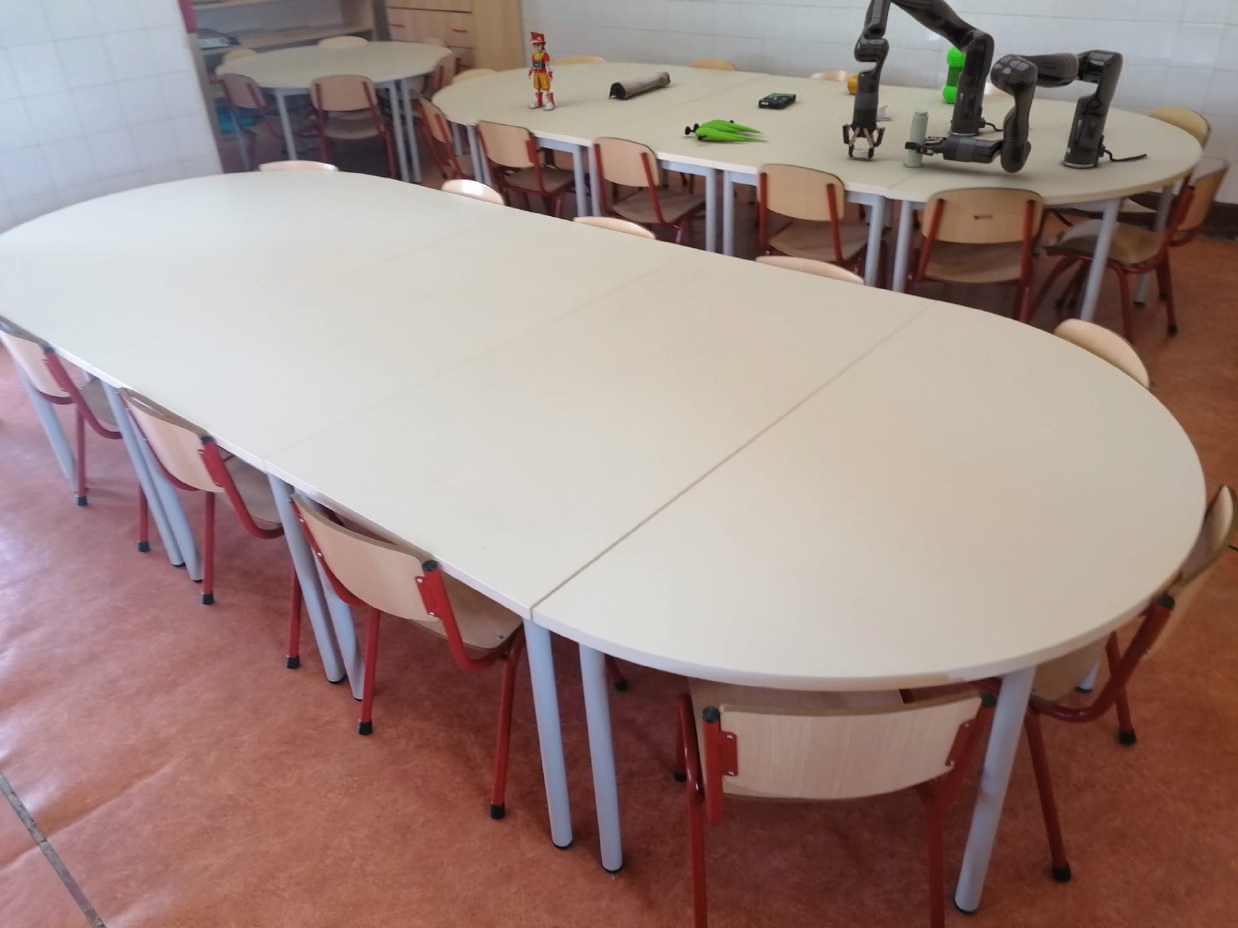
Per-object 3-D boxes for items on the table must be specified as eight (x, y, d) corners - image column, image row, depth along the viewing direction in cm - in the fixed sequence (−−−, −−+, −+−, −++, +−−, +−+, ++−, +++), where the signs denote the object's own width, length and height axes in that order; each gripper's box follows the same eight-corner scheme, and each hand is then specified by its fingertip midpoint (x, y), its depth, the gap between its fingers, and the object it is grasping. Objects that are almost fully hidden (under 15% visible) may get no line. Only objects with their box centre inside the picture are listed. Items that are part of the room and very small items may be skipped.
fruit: (842, 86, 371) (854, 68, 368) (844, 90, 378) (856, 72, 375) (859, 97, 369) (871, 79, 366) (861, 100, 377) (873, 83, 374)
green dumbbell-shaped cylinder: (973, 101, 354) (984, 32, 339) (955, 106, 349) (966, 36, 335) (952, 97, 361) (962, 29, 346) (934, 102, 356) (944, 33, 342)
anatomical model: (852, 90, 344) (878, 82, 343) (855, 117, 350) (880, 110, 349) (864, 99, 332) (891, 92, 331) (867, 127, 338) (893, 120, 337)
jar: (903, 166, 292) (911, 112, 282) (909, 162, 295) (916, 108, 285) (918, 168, 289) (926, 113, 280) (923, 164, 293) (931, 110, 283)
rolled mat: (651, 76, 408) (662, 61, 399) (662, 93, 408) (674, 79, 400) (605, 92, 391) (616, 77, 383) (617, 110, 391) (628, 95, 383)
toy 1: (525, 109, 381) (517, 32, 364) (534, 104, 388) (527, 28, 371) (550, 110, 377) (543, 32, 360) (559, 105, 384) (553, 28, 367)
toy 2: (674, 139, 326) (748, 154, 314) (675, 124, 324) (750, 138, 311) (708, 126, 347) (780, 140, 334) (710, 113, 344) (782, 125, 331)
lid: (871, 153, 300) (872, 148, 299) (866, 157, 296) (866, 152, 295) (855, 151, 303) (856, 147, 302) (850, 156, 299) (850, 151, 298)
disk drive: (781, 110, 359) (796, 101, 369) (782, 102, 357) (796, 94, 367) (757, 108, 364) (772, 99, 374) (758, 100, 362) (773, 92, 372)
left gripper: (840, 106, 291) (836, 159, 301) (884, 109, 285) (878, 163, 294) (848, 101, 296) (843, 153, 306) (891, 104, 290) (885, 157, 299)
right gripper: (970, 131, 284) (917, 125, 292) (956, 142, 274) (901, 136, 283) (966, 155, 288) (914, 149, 297) (952, 167, 279) (898, 160, 287)
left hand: (860, 157), depth 300 cm, fingers open, 5 cm apart
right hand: (908, 143), depth 290 cm, fingers closed on jar, 4 cm apart
